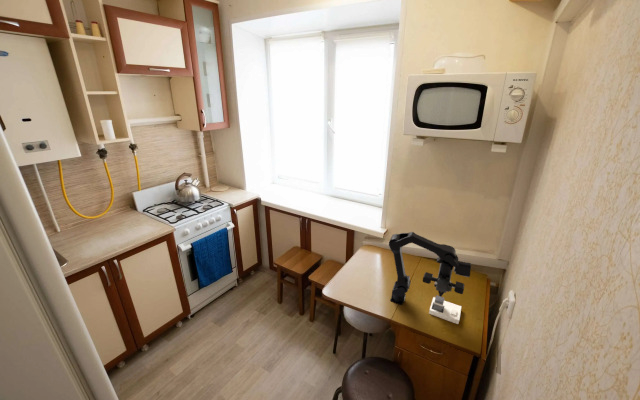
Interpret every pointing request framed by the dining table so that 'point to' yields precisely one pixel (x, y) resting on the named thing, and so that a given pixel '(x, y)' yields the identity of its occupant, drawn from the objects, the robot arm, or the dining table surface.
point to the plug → (438, 303)
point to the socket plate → (447, 311)
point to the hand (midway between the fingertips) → (440, 296)
